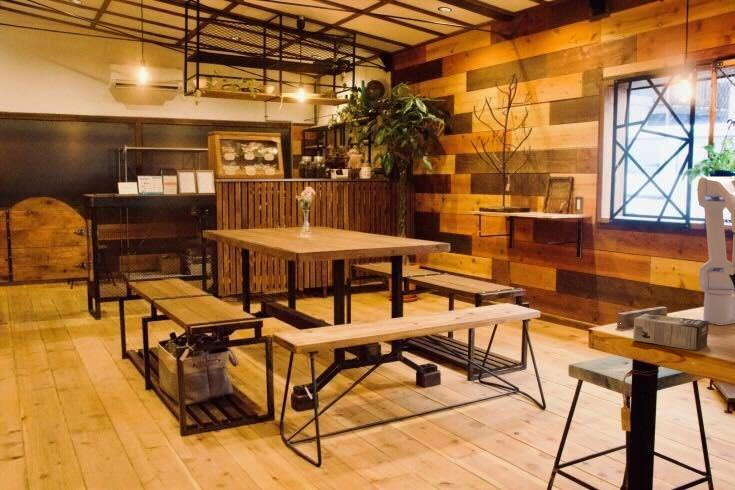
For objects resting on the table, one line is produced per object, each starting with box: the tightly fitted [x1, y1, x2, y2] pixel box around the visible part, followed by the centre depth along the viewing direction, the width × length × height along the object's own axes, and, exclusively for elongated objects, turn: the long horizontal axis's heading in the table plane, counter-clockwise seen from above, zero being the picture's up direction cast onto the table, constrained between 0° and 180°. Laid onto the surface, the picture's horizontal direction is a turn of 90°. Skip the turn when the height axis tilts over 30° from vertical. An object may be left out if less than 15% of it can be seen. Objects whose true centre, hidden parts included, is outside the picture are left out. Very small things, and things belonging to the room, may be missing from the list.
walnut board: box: [616, 306, 668, 329], centre depth 198 cm, size 20×2×4 cm, turn 121°
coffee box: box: [632, 314, 710, 352], centre depth 175 cm, size 9×6×16 cm
